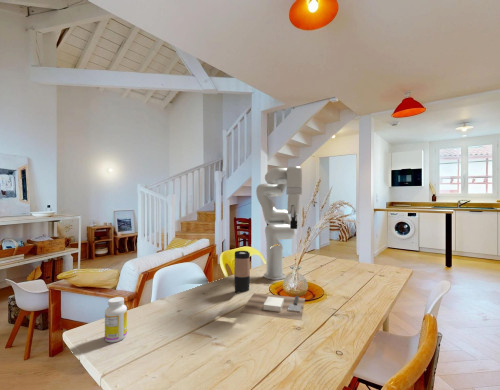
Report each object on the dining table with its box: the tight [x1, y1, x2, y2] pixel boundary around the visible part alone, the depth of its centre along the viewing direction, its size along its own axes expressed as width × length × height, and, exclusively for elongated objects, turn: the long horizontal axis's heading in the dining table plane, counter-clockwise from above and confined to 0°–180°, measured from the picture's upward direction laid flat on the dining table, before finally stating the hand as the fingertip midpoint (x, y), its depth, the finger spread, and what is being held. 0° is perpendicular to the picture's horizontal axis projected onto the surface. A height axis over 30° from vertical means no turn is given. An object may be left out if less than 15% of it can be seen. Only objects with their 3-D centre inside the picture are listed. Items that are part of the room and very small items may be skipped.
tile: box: [264, 297, 284, 312], centre depth 110 cm, size 2×7×9 cm
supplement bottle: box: [104, 296, 128, 343], centre depth 88 cm, size 7×7×13 cm
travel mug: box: [233, 250, 251, 294], centre depth 130 cm, size 8×8×20 cm
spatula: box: [287, 295, 301, 312], centre depth 112 cm, size 15×5×1 cm, turn 164°
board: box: [240, 292, 306, 321], centre depth 112 cm, size 22×24×2 cm
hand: (293, 228), depth 130 cm, fingers closed
